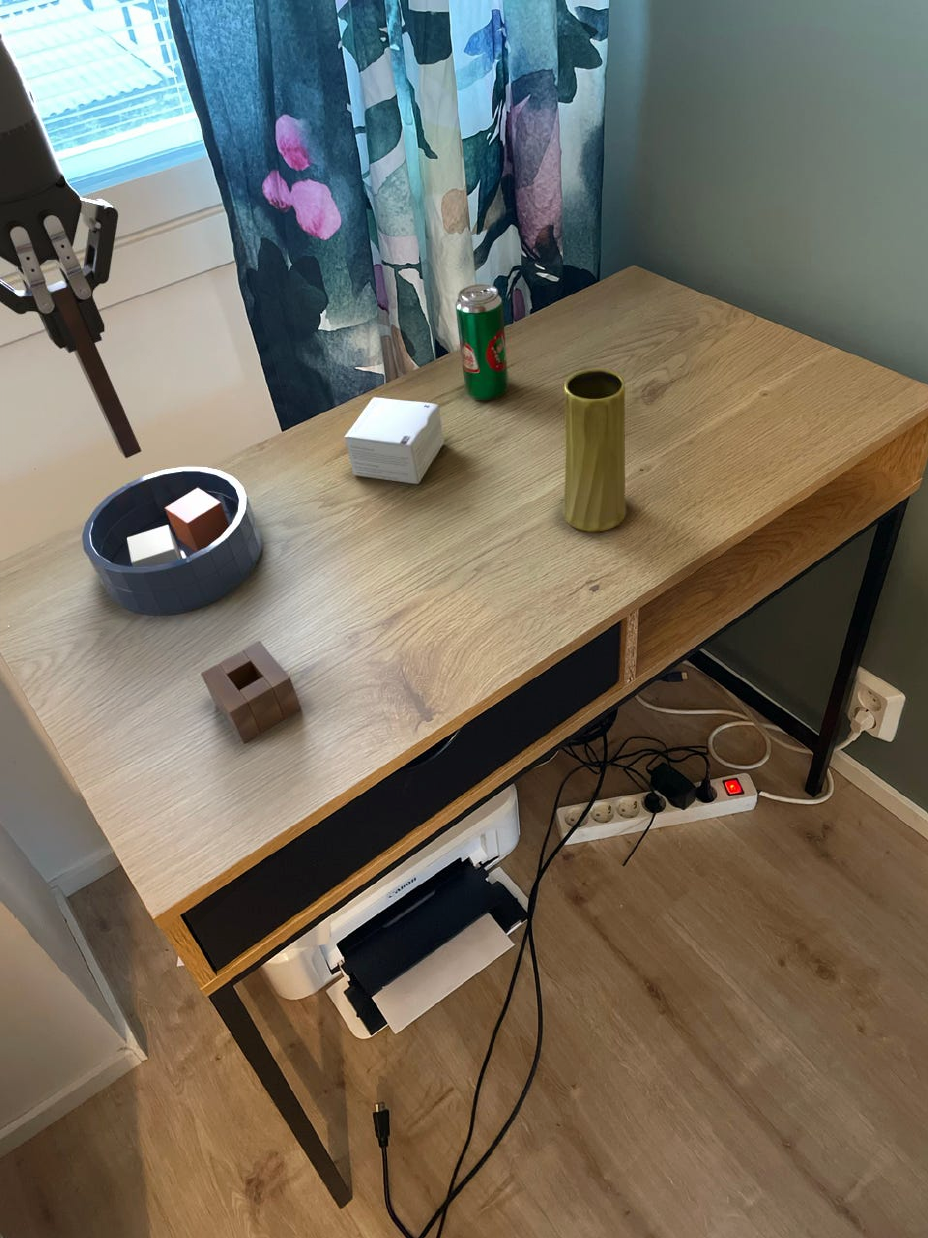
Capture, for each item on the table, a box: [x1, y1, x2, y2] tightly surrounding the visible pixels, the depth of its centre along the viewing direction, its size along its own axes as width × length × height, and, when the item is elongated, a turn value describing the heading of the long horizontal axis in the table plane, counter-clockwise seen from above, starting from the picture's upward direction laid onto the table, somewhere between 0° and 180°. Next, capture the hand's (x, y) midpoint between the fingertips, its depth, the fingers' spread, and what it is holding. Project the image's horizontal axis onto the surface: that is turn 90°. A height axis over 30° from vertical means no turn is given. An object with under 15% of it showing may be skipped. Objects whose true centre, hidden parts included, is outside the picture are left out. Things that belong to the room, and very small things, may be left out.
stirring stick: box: [46, 279, 142, 459], centre depth 77 cm, size 2×2×16 cm
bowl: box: [81, 466, 263, 616], centre depth 87 cm, size 16×16×6 cm
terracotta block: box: [165, 488, 229, 552], centre depth 89 cm, size 4×4×4 cm
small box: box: [344, 396, 445, 485], centre depth 95 cm, size 8×8×5 cm
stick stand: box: [200, 640, 302, 744], centre depth 73 cm, size 5×5×4 cm
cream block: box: [127, 525, 183, 567], centre depth 85 cm, size 4×4×4 cm
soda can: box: [455, 283, 509, 401], centre depth 100 cm, size 5×5×12 cm
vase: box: [562, 368, 627, 533], centre depth 82 cm, size 6×6×14 cm
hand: (82, 343), depth 75 cm, fingers closed on stirring stick, 1 cm apart
